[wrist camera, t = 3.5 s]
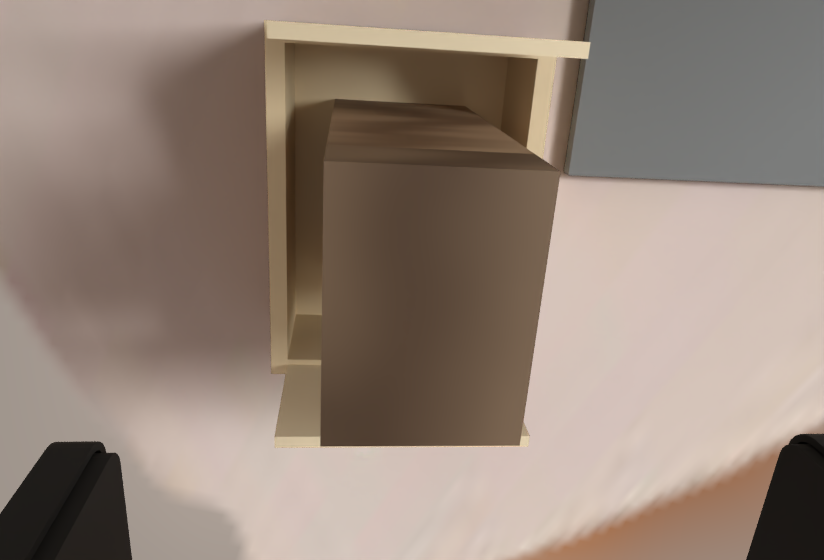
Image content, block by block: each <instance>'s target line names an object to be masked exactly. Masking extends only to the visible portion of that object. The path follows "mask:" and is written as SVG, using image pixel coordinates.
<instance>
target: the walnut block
mask: <svg viewBox="0 0 824 560" xmlns="http://www.w3.org/2000/svg"><path fill="white" fill-rule="evenodd" d="M559 178H560V171H559V170H558V169H556V168H555V167H553V166H552V165H550V164H549V163H547V162H546V161H544V160H543V159H542V158H540V157H539V156H537V155H536V154H534V153H533V152H531V151H530V150H528V149H527V148H526V147H524V146H523V145H521V144H520V143H518V142H517V141H515V140H514V139H512V138H511V137H509V136H508V135H507V134H505V133H504V132H502V131H501V130H499V129H498V128H496V127H495V126H493V125H492V124H491V123H489V122H488V121H486V120H485V119H483V118H482V117H480V116H479V115H477V114H476V113H475V112H473V111H472V110H470V109H469V108H467V107H466V106H457V105H438V104H420V103H402V102H384V101H365V100H347V99H335V102H334V107H333V113H332V118H331V124H330V129H329V135H328V140H327V146H326V151H325V157H324V179H323V261H322V342H321V424H320V446H520V440H521V433H522V427H523V420H524V413H525V406H526V400H527V393H528V386H529V380H530V373H531V366H532V359H533V353H534V346H535V339H536V333H537V326H538V319H539V312H540V306H541V299H542V292H543V286H544V279H545V272H546V265H547V259H548V252H549V245H550V239H551V232H552V225H553V218H554V212H555V205H556V198H557V192H558V185H559Z"/></svg>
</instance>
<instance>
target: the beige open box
mask: <svg viewBox="0 0 824 560" xmlns="http://www.w3.org/2000/svg"><path fill="white" fill-rule="evenodd" d="M264 41H265V90H266V139H267V188H268V237H269V286H270V335H271V374H286V376H285V381H284V387H283V393H282V398H281V404H280V409H279V415H278V420H277V426H276V432H275V448H324V447H528V444H529V437H530V436H529V434H528V431H527V429H526V427H525V424H524V422H523V427H522V433H521V440H520V446H320V424H321V342H322V261H323V179H324V157H325V151H326V146H327V140H328V135H329V129H330V124H331V118H332V113H333V107H334V102H335V99H347V100H365V101H384V102H402V103H420V104H438V105H457V106H466V107H467V108H469V109H470V110H472V111H473V112H475V113H476V114H477V115H479V116H480V117H482V118H483V119H485V120H486V121H488V122H489V123H491V124H492V125H493V126H495V127H496V128H498V129H499V130H501V131H502V132H504V133H505V134H507V135H508V136H509V137H511V138H512V139H514V140H515V141H517V142H518V143H520V144H521V145H523V146H524V147H526V148H527V149H528V150H530V151H531V152H533V153H534V154H536V155H537V156H539V157H540V158H542V159H543V153H544V146H545V138H546V131H547V124H548V116H549V109H550V102H551V95H552V87H553V80H554V73H555V66H556V58H557V57H565V58H581V59H588V56H589V49H590V43H591V42H580V41H566V40H551V39H536V38H521V37H507V36H492V35H477V34H462V33H447V32H433V31H418V30H403V29H388V28H373V27H358V26H344V25H329V24H314V23H299V22H284V21H269V20H264Z"/></svg>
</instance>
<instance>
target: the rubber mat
mask: <svg viewBox="0 0 824 560" xmlns="http://www.w3.org/2000/svg"><path fill="white" fill-rule="evenodd" d="M584 42H591V43H590V49H589V56H588V59H581V62H580V68H579V75H578V81H577V88H576V95H575V101H574V108H573V115H572V121H571V128H570V134H569V141H568V148H567V154H566V161H565V168H564V173H566V174H567V175H573V176H596V177H619V178H642V179H665V180H688V181H711V182H734V183H757V184H780V185H803V186H824V0H590V2H589V9H588V15H587V22H586V28H585V35H584Z"/></svg>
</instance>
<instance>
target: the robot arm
mask: <svg viewBox="0 0 824 560" xmlns="http://www.w3.org/2000/svg"><path fill="white" fill-rule="evenodd" d="M0 560H132V556H131V548H130V538H129V530H128V523H127V514H126V505H125V498H124V489H123V480H122V472H121V463H120V458H119V456H118V454H116V453H106V450H105V447H104V445H103V443H101V442H54V443H52V444H50V445H49V446H48V447H47V449H46V450H45V451H44V453H43V454H42V456H41V457H40V459H39V460H38V461H37V463H36V464H35V465H34V467H33V468H32V470H31V471H30V473H29V474H28V475H27V477H26V478H25V480H24V481H23V482H22V484H21V485H20V487H19V488H18V489H17V491H16V493H15V494H14V495H13V497H12V498H11V500H10V501H9V502H8V504H7V505H6V507H5V508H4V509H3V511H2V512H1V514H0ZM746 560H824V434H800V435H797V436H795V437H794V438H793V439H791V441H790V443H789V445H786V446H785V447H783V448H782V450H781V452H780V454H779V458H778V461H777V464H776V467H775V470H774V473H773V477H772V480H771V483H770V486H769V489H768V492H767V496H766V499H765V502H764V505H763V508H762V511H761V515H760V518H759V521H758V524H757V528H756V530H755V534H754V537H753V540H752V543H751V546H750V549H749V553H748V556H747V559H746Z"/></svg>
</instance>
